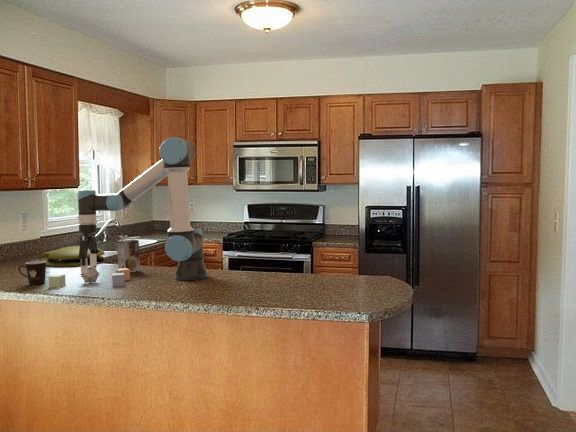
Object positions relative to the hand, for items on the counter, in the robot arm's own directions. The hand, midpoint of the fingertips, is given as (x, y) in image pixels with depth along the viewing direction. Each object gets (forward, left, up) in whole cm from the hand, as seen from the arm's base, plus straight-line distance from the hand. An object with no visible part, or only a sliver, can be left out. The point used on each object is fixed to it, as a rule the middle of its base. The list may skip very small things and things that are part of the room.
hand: (89, 270), depth 245 cm
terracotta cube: (-13, -7, -6) cm, 16 cm away
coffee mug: (+26, -3, -6) cm, 27 cm away
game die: (0, 0, -6) cm, 6 cm away
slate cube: (-14, +6, -6) cm, 17 cm away
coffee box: (-11, -28, -6) cm, 31 cm away
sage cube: (+13, +5, -6) cm, 15 cm away
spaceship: (+29, -66, -7) cm, 73 cm away
